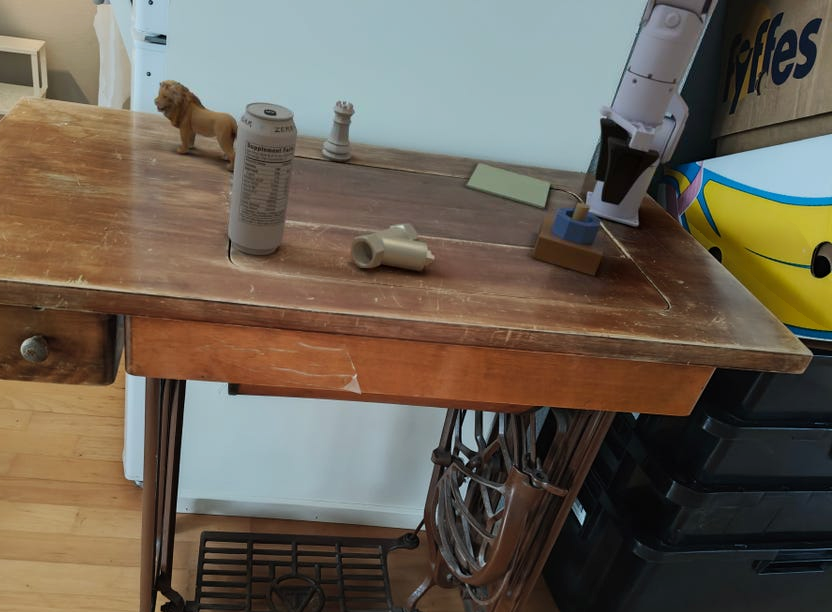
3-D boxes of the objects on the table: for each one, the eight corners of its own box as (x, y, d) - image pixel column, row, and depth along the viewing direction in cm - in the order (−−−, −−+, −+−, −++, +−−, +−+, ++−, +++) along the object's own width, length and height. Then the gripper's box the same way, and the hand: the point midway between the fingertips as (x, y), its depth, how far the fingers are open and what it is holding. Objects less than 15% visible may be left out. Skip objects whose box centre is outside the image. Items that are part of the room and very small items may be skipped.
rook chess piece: (347, 164, 108) (357, 110, 104) (318, 157, 108) (327, 103, 104) (352, 155, 112) (362, 103, 108) (324, 149, 112) (332, 96, 108)
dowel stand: (537, 235, 99) (554, 186, 95) (595, 252, 98) (615, 204, 94) (531, 257, 92) (550, 206, 88) (594, 276, 91) (615, 225, 87)
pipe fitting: (434, 273, 85) (391, 245, 87) (444, 244, 82) (400, 216, 85) (391, 290, 79) (347, 260, 82) (401, 260, 77) (355, 230, 80)
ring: (553, 221, 96) (559, 203, 95) (593, 232, 95) (600, 215, 94) (550, 235, 92) (557, 217, 90) (592, 248, 91) (600, 229, 89)
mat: (478, 165, 119) (478, 162, 119) (549, 185, 118) (550, 182, 117) (466, 187, 110) (466, 184, 109) (543, 209, 108) (544, 206, 108)
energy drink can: (279, 235, 84) (296, 105, 76) (283, 259, 80) (302, 123, 71) (226, 230, 83) (238, 97, 75) (227, 254, 78) (240, 115, 70)
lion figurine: (146, 147, 99) (148, 80, 94) (166, 138, 104) (168, 73, 99) (245, 176, 97) (252, 109, 92) (261, 165, 102) (268, 100, 97)
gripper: (609, 55, 86) (570, 165, 94) (624, 80, 74) (577, 204, 82) (668, 69, 86) (624, 178, 94) (693, 96, 74) (639, 219, 82)
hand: (606, 191), depth 88 cm, fingers open, 7 cm apart
